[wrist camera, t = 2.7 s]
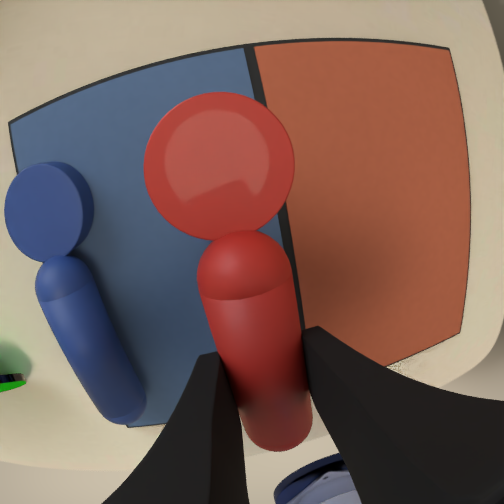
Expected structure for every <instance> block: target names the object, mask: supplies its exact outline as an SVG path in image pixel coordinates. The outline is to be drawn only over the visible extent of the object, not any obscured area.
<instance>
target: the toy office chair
mask: <svg viewBox="0 0 504 504" xmlns="http://www.w3.org/2000/svg"><path fill="white" fill-rule="evenodd" d="M24 384H26V380H25V377H24V374H21V373H18V374H7V375H0V392H3V391H7V390H11V389H14V388H17V387H20V386H22V385H24Z"/></svg>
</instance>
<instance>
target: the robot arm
mask: <svg viewBox="0 0 504 504" xmlns="http://www.w3.org/2000/svg"><path fill="white" fill-rule="evenodd" d="M301 336H302V343H303V350H304V357H305V364H306V371H307V379H308V386H309V391H310V394H311V397H312V399H313V402H314V405H315V407H316V409H317V411H318V413H319V415H320V417H321V419H322V421H323V423H324V424H325V426H326V428H327V430H328V432H329V434H330V436H331V438H332V439H333V441H334V443H335V445H336V447H337V449H338V451H339V452H340V454H341V456H342V458H343V460H344V462H345V464H346V466H347V468H348V470H340V469H329V470H326V471H324V472H323V473H322V474H321V475H320V476H319V477H318V478H316V479H315V480H314V481H313V482H312V483H311V484H310V485H308V486H307V487H306V488H305V489H304V490H303V491H301V492H300V493H299V494H298V495H297V496H295V497H294V498H293V499H292V500H290V501H289V502H288V503H287V504H504V401H499V400H492V399H484V398H477V397H472V396H467V395H462V394H458V393H454V392H450V391H446V390H442V389H439V388H436V387H433V386H430V385H427V384H424V383H421V382H419V381H416V380H413V379H411V378H408V377H406V376H403V375H401V374H399V373H397V372H394V371H392V370H390V369H388V368H386V367H384V366H382V365H380V364H379V363H377V362H375V361H373V360H371V359H370V358H368V357H366V356H365V355H363V354H361V353H359V352H358V351H356V350H355V349H353V348H351V347H350V346H348V345H347V344H345V343H344V342H342V341H341V340H339V339H338V338H336V337H335V336H333V335H332V334H330V333H329V332H327V331H326V330H325V329H323V328H322V327H320V326H315V327H311V328H308V329H304V330H301ZM102 504H249V499H248V493H247V486H246V473H245V461H244V449H243V438H242V426H241V421H240V416H239V411H238V407H237V404H236V401H235V399H234V396H233V393H232V390H231V387H230V384H229V381H228V378H227V375H226V373H225V370H224V367H223V364H222V361H221V357H220V355H219V353H218V351H216V352H211V353H207V354H202V355H199V357H198V358H197V360H196V363H195V365H194V368H193V370H192V373H191V375H190V378H189V380H188V382H187V384H186V387H185V389H184V391H183V393H182V395H181V397H180V399H179V401H178V403H177V405H176V407H175V409H174V411H173V413H172V414H171V416H170V418H169V420H168V422H167V423H166V425H165V427H164V429H163V430H162V432H161V433H160V435H159V437H158V438H157V440H156V441H155V443H154V444H153V446H152V447H151V449H150V450H149V451H148V453H147V454H146V455H145V457H144V458H143V460H142V461H141V462H140V463H139V464H138V466H137V467H136V468H135V469H134V471H133V472H132V473H131V474H130V475H129V477H128V478H127V479H126V480H125V481H124V482H123V483H122V484H121V486H119V488H118V489H117V490H115V492H113V493H112V494H111V495H110V496H109V497H108V498H107V499H106V500H105V501H104V502H103V503H102Z"/></svg>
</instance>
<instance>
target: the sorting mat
mask: <svg viewBox="0 0 504 504" xmlns="http://www.w3.org/2000/svg"><path fill="white" fill-rule="evenodd" d="M210 92H231V93H237V94H240V95H244V96H247V97H249V98H252V99H254V100H256V101H257V102H259V103H261V104H263V105H264V106H265V107H267V108H268V109H269V110H270V111H271V112H272V113H273V114H274V115H275V116H276V117H277V118H278V119H279V120H280V122H281V123H282V124H283V126H284V128H285V129H286V131H287V133H288V135H289V138H290V140H291V143H292V147H293V151H294V158H295V173H294V180H293V184H292V187H291V190H290V193H289V195H288V197H287V199H286V201H285V203H284V205H283V206H282V208H281V209H280V210H279V212H278V213H277V214H276V215H275V216H274V217H273V218H272V219H271V220H270V221H269V222H268V223H267V224H265V225H264V226H263V227H261V228H260V229H258V230H256V231H259V232H262V233H264V234H266V235H268V236H270V237H271V238H272V239H274V240H275V241H276V242H278V243H279V245H280V246H281V247H282V248H283V249H284V251H285V253H286V255H287V257H288V259H289V262H290V265H291V269H292V275H293V282H294V288H295V294H296V301H297V307H298V314H299V320H300V327H301V330H304V329H308V328H311V327H315V326H320V327H322V328H323V329H325V330H326V331H327V332H329V333H330V334H332V335H333V336H335V337H336V338H338V339H339V340H341V341H342V342H344V343H345V344H347V345H348V346H350V347H351V348H353V349H355V350H356V351H358V352H359V353H361V354H363V355H365V356H366V357H368V358H370V359H371V360H373V361H375V362H377V363H379V364H380V365H382V366H384V367H386V366H389V365H391V364H394V363H396V362H398V361H401V360H403V359H406V358H408V357H410V356H412V355H415V354H417V353H419V352H421V351H424V350H426V349H428V348H430V347H432V346H434V345H437V344H439V343H441V342H443V341H445V340H447V339H449V338H451V337H453V336H455V335H457V334H459V333H460V330H461V325H462V319H463V312H464V305H465V298H466V289H467V280H468V269H469V256H470V235H471V192H470V171H469V158H468V147H467V138H466V130H465V122H464V116H463V109H462V103H461V98H460V92H459V87H458V82H457V78H456V73H455V69H454V65H453V61H452V57H451V53H450V49H449V48H447V47H441V46H435V45H429V44H421V43H413V42H405V41H394V40H382V39H363V38H311V39H292V40H279V41H268V42H259V43H251V44H243V45H236V46H230V47H223V48H218V49H212V50H207V51H202V52H197V53H192V54H187V55H183V56H179V57H175V58H170V59H166V60H163V61H159V62H155V63H151V64H148V65H144V66H141V67H138V68H134V69H131V70H128V71H125V72H122V73H119V74H116V75H113V76H110V77H107V78H104V79H101V80H99V81H96V82H93V83H91V84H88V85H86V86H83V87H81V88H78V89H76V90H73V91H71V92H68V93H66V94H64V95H62V96H59V97H57V98H55V99H53V100H50V101H48V102H46V103H44V104H42V105H40V106H38V107H36V108H34V109H32V110H30V111H28V112H26V113H24V114H22V115H20V116H18V117H16V118H15V119H13V120H11V121H9V122H8V126H9V133H10V140H11V146H12V151H13V157H14V162H15V167H16V172H17V175H18V174H19V173H20V172H21V171H22V170H23V169H25V168H26V167H28V166H31V165H33V164H38V163H46V162H62V163H65V164H68V165H70V166H72V167H73V168H75V169H76V170H77V171H78V172H79V173H80V174H81V175H82V176H83V177H84V179H85V180H86V182H87V184H88V186H89V188H90V191H91V194H92V198H93V204H94V215H93V222H92V226H91V228H90V231H89V233H88V235H87V237H86V238H85V239H84V241H83V242H82V243H81V244H80V245H79V246H78V247H76V248H75V249H74V250H73V251H72V252H70V253H69V254H68V255H72V256H75V257H77V258H79V259H80V260H82V261H83V262H84V263H85V264H86V265H87V266H88V268H89V269H90V271H91V273H92V275H93V278H94V281H95V283H96V286H97V288H98V291H99V294H100V296H101V299H102V301H103V304H104V306H105V308H106V311H107V313H108V316H109V318H110V320H111V323H112V325H113V327H114V329H115V332H116V334H117V336H118V338H119V340H120V343H121V345H122V347H123V349H124V351H125V353H126V355H127V357H128V359H129V361H130V363H131V365H132V367H133V369H134V371H135V373H136V375H137V377H138V379H139V381H140V383H141V385H142V387H143V389H144V391H145V393H146V398H147V405H146V409H145V412H144V413H143V415H142V416H141V418H140V419H138V420H137V421H135V422H133V423H131V424H127V425H126V426H127V428H132V427H142V426H152V425H161V424H166V423H167V422H168V420H169V418H170V416H171V414H172V413H173V411H174V409H175V407H176V405H177V403H178V401H179V399H180V397H181V395H182V393H183V391H184V389H185V387H186V384H187V382H188V380H189V378H190V375H191V373H192V370H193V368H194V365H195V363H196V360H197V358H198V357H199V355H202V354H207V353H211V352H216V351H217V348H216V345H215V342H214V339H213V336H212V333H211V329H210V326H209V323H208V320H207V317H206V313H205V310H204V307H203V303H202V300H201V297H200V293H199V290H198V284H197V269H198V265H199V261H200V258H201V256H202V254H203V252H204V251H205V249H206V248H207V247H208V246H209V244H210V243H211V242H212V240H204V239H199V238H196V237H193V236H190V235H188V234H186V233H184V232H182V231H180V230H178V229H177V228H175V227H174V226H172V225H171V224H170V223H169V222H168V221H166V220H165V219H164V218H163V216H162V215H161V214H160V213H159V212H158V211H157V209H156V207H155V206H154V204H153V203H152V201H151V199H150V196H149V194H148V191H147V188H146V185H145V179H144V168H143V164H144V155H145V151H146V146H147V143H148V141H149V138H150V136H151V134H152V132H153V130H154V129H155V127H156V126H157V124H158V123H159V121H160V120H161V119H162V118H163V117H164V116H165V115H166V114H167V113H168V112H169V111H170V110H171V109H172V108H174V107H175V106H176V105H178V104H179V103H181V102H183V101H185V100H187V99H189V98H191V97H194V96H197V95H200V94H204V93H210ZM42 263H44V262H42ZM309 392H310V391H309Z"/></svg>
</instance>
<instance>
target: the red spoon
mask: <svg viewBox="0 0 504 504" xmlns="http://www.w3.org/2000/svg"><path fill="white" fill-rule="evenodd" d="M143 168H144V179H145V185H146V188H147V191H148V194H149V196H150V199H151V201H152V203H153V204H154V206H155V207H156V209H157V211H158V212H159V213H160V214H161V215H162V216H163V218H164V219H165V220H166V221H168V222H169V223H170V224H171V225H172V226H174V227H175V228H177V229H178V230H180V231H182V232H184V233H186V234H188V235H190V236H193V237H196V238H199V239H204V240H212V242H211V243H210V244H209V246H208V247H207V248H206V249H205V251H204V252H203V254H202V256H201V258H200V261H199V265H198V269H197V284H198V290H199V293H200V297H201V300H202V303H203V307H204V310H205V313H206V317H207V320H208V323H209V326H210V329H211V333H212V336H213V339H214V342H215V345H216V348H217V351H218V353H219V355H220V357H221V361H222V364H223V367H224V370H225V373H226V375H227V378H228V381H229V384H230V387H231V390H232V393H233V396H234V399H235V401H236V404H237V407H238V411H239V415H240V418H241V420H242V423H243V426H244V428H245V431H246V433H247V435H248V436H249V438H250V439H251V440H252V441H253V442H254V443H255V444H256V445H257V446H259V447H261V448H263V449H266V450H269V451H274V452H278V451H279V452H281V451H287V450H289V449H292V448H294V447H296V446H298V445H299V444H300V443H301V442H303V441H304V439H305V438H306V437H307V436H308V434H309V432H310V430H311V427H312V419H313V416H312V408H311V400H310V392H309V386H308V379H307V371H306V364H305V357H304V350H303V343H302V336H301V327H300V320H299V314H298V307H297V301H296V294H295V288H294V282H293V275H292V269H291V265H290V262H289V259H288V257H287V255H286V253H285V251H284V249H283V248H282V247H281V246H280V245H279V243H278V242H276V241H275V240H274V239H272V238H271V237H270V236H268V235H266V234H264V233H262V232H259V231H256V230H258V229H260V228H261V227H263V226H264V225H265V224H267V223H268V222H269V221H270V220H271V219H272V218H273V217H274V216H275V215H276V214H277V213H278V212H279V210H280V209H281V208H282V206H283V205H284V203H285V201H286V199H287V197H288V195H289V193H290V190H291V187H292V184H293V180H294V173H295V158H294V151H293V147H292V143H291V140H290V138H289V135H288V133H287V131H286V129H285V128H284V126H283V124H282V123H281V122H280V120H279V119H278V118H277V117H276V116H275V115H274V114H273V113H272V112H271V111H270V110H269V109H268V108H267V107H265V106H264V105H263V104H261V103H259V102H257V101H256V100H254V99H252V98H249V97H247V96H244V95H240V94H237V93H231V92H210V93H204V94H200V95H197V96H194V97H191V98H189V99H187V100H185V101H183V102H181V103H179V104H178V105H176V106H175V107H174V108H172V109H171V110H170V111H169V112H168V113H167V114H166V115H165V116H164V117H163V118H162V119H161V120H160V121H159V123H158V124H157V126H156V127H155V129H154V130H153V132H152V134H151V136H150V138H149V141H148V143H147V146H146V151H145V155H144V164H143Z"/></svg>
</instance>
